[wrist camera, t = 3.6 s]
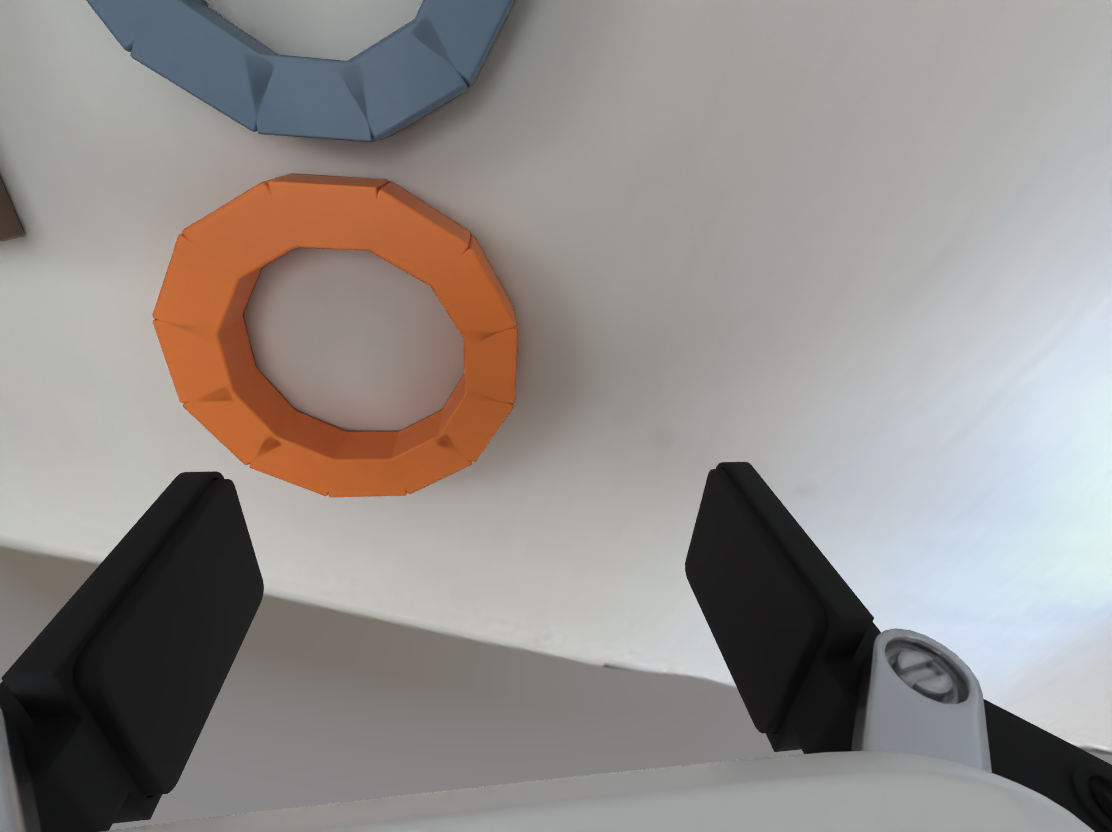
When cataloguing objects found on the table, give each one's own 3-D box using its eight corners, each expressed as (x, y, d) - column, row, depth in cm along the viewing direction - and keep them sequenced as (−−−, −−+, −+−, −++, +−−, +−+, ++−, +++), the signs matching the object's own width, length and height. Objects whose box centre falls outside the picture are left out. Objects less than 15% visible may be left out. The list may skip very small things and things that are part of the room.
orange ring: (518, 187, 15) (521, 195, 13) (510, 464, 20) (512, 493, 18) (142, 164, 14) (98, 170, 12) (234, 468, 19) (212, 500, 17)
